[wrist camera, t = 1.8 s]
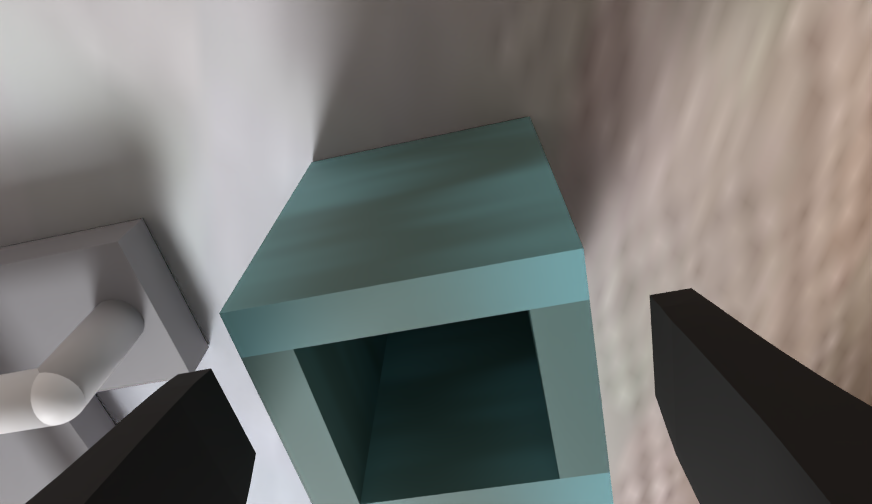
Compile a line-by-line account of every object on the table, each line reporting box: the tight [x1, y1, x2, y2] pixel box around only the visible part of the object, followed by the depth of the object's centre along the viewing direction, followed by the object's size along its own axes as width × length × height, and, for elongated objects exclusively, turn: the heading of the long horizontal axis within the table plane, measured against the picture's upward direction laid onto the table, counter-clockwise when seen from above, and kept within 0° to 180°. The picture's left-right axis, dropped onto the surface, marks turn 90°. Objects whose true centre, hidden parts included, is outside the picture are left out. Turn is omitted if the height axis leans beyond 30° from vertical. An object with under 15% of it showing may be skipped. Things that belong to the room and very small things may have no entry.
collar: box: [219, 116, 613, 504], centre depth 12 cm, size 5×5×6 cm
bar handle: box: [0, 218, 209, 504], centre depth 15 cm, size 8×12×4 cm
